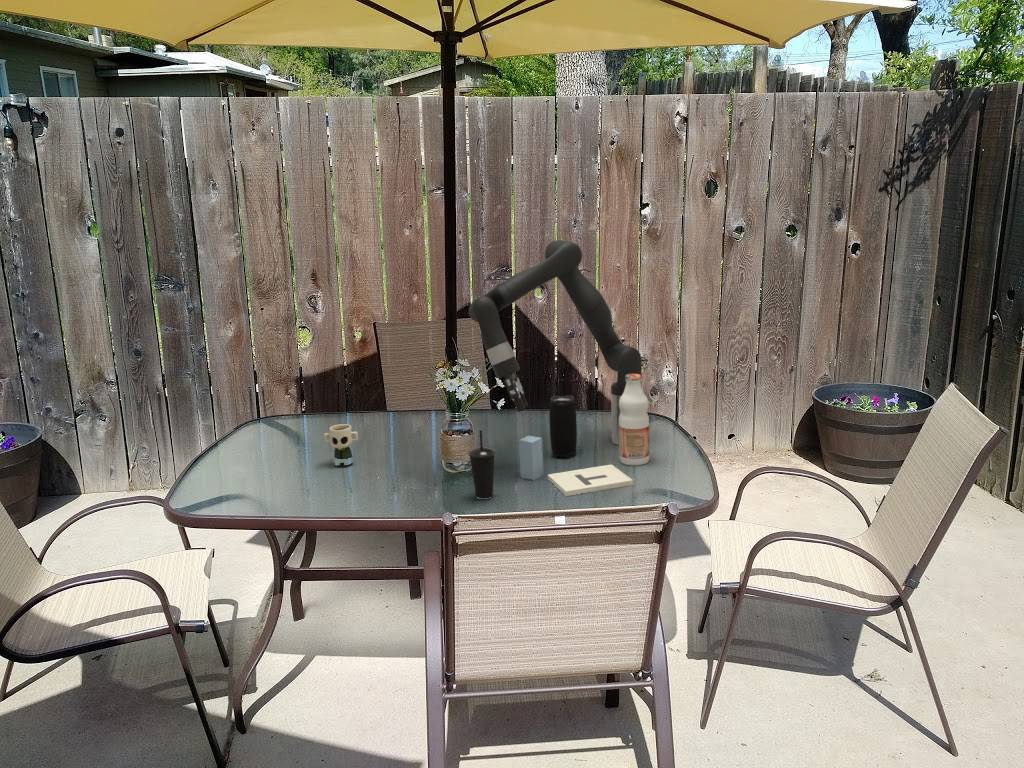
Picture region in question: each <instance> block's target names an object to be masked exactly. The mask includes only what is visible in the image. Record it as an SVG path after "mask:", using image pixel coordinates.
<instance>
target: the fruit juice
mask: <svg viewBox="0 0 1024 768" xmlns="http://www.w3.org/2000/svg"><path fill="white" fill-rule="evenodd" d="M625 380H626V386H625V390H624V392H623V394H622V396H621V397H620V400H619V407H620V411H621V413H620V416H619V445H618V449H619V450H618V452H619V453H618V455H619V457H618V459H619V462H620V463H621V464H623V465H626V466H643V465H646V464H648V463H649V461H650V419H649V414H648V409H649V400H648V397H647V396H646V394H645V393H644V391H643V388H642V385H641V384H640V381H641V382H642V374H641V375H639V374H628V375H626V376H625Z"/></svg>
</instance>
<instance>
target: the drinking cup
mask: <svg viewBox="0 0 1024 768" xmlns="http://www.w3.org/2000/svg"><path fill="white" fill-rule="evenodd" d="M483 443H484V442H483V431H482V430H480V429H479V446H478V447H475V448H474V449H473V448H472V449H471V450H468V455H469V460H470V466H471V473H472V478H473V485H474V490H475V491H474V492H475V497H476V496H477V497H479V498H489V497H492V496H494V478H495V476H494V474H495V454H496V450H495V449H493V448H490V447H488V446H483ZM492 498H493V497H492Z"/></svg>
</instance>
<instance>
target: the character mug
mask: <svg viewBox="0 0 1024 768" xmlns="http://www.w3.org/2000/svg"><path fill="white" fill-rule="evenodd" d="M323 435H324V442H325V443H328V444H329V443H330V445H331V447H332V448H333V449H334V456H333V457H335V458H337V459H348V458H351V457H353V453H352V450H351V447H350V446H352V445H353V443H354V442H358V441H359V437H358V436H359V435H358V431H352V425H351V424H348V423H341V424H335V425H332V426H330V427H329V432H326V433H324V434H323ZM353 435H354V438H353ZM328 437H329V438H328Z"/></svg>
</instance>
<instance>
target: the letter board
mask: <svg viewBox="0 0 1024 768" xmlns="http://www.w3.org/2000/svg"><path fill="white" fill-rule="evenodd" d="M547 480H548V481H549V480H550V481H551V482H552V483H553V484H554V485H553V484H552V485H553V486H555V488H557V490H559V491H560V492H561V493H562V495H564V496H565V497H570V496H575V495H576V494H577V495H580V494H581V493H583V494H588V492H589V493H593V492H601V491H606V490H611V489H617V488H623V487H624V488H625V487H629V486H633V485H634V480H633V479H632V478H631V477H629V476H628V475H626V474H625V473H624V472H622V471H621V470H619V469H618V468H617V467H616V466H614V465H613V464H608V465H607V464H606V465H599V466H593V467H587V468H581V469H580V468H579V469H575V470H569V471H562V472H556V473H550V474H547ZM550 481H549V482H550ZM551 482H550V483H551ZM581 495H582V494H581Z"/></svg>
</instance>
